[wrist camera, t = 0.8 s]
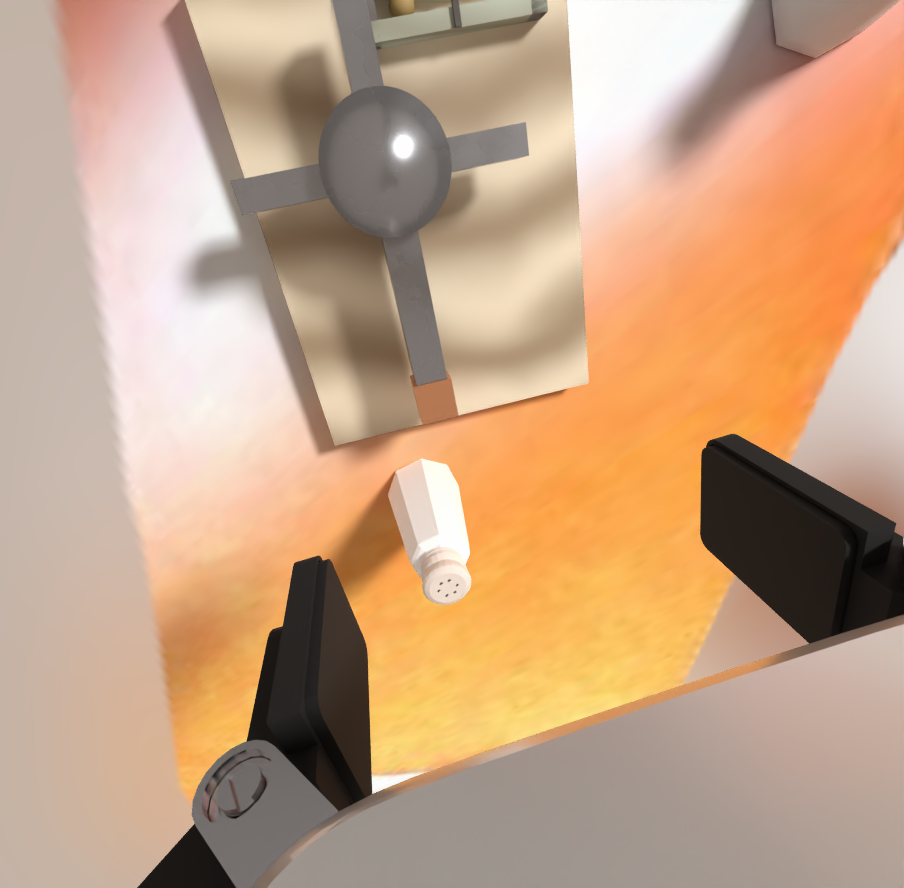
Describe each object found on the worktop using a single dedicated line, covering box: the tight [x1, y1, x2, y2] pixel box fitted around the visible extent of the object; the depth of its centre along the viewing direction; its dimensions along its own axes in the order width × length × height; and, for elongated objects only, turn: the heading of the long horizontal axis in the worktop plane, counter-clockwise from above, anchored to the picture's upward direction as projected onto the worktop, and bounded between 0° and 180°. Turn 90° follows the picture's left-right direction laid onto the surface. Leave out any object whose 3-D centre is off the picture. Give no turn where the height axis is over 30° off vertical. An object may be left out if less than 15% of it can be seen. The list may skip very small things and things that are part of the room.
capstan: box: [231, 0, 529, 425], centre depth 25 cm, size 20×14×4 cm
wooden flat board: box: [185, 0, 589, 446], centre depth 28 cm, size 24×18×3 cm
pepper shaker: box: [388, 459, 471, 604], centre depth 32 cm, size 5×5×11 cm
